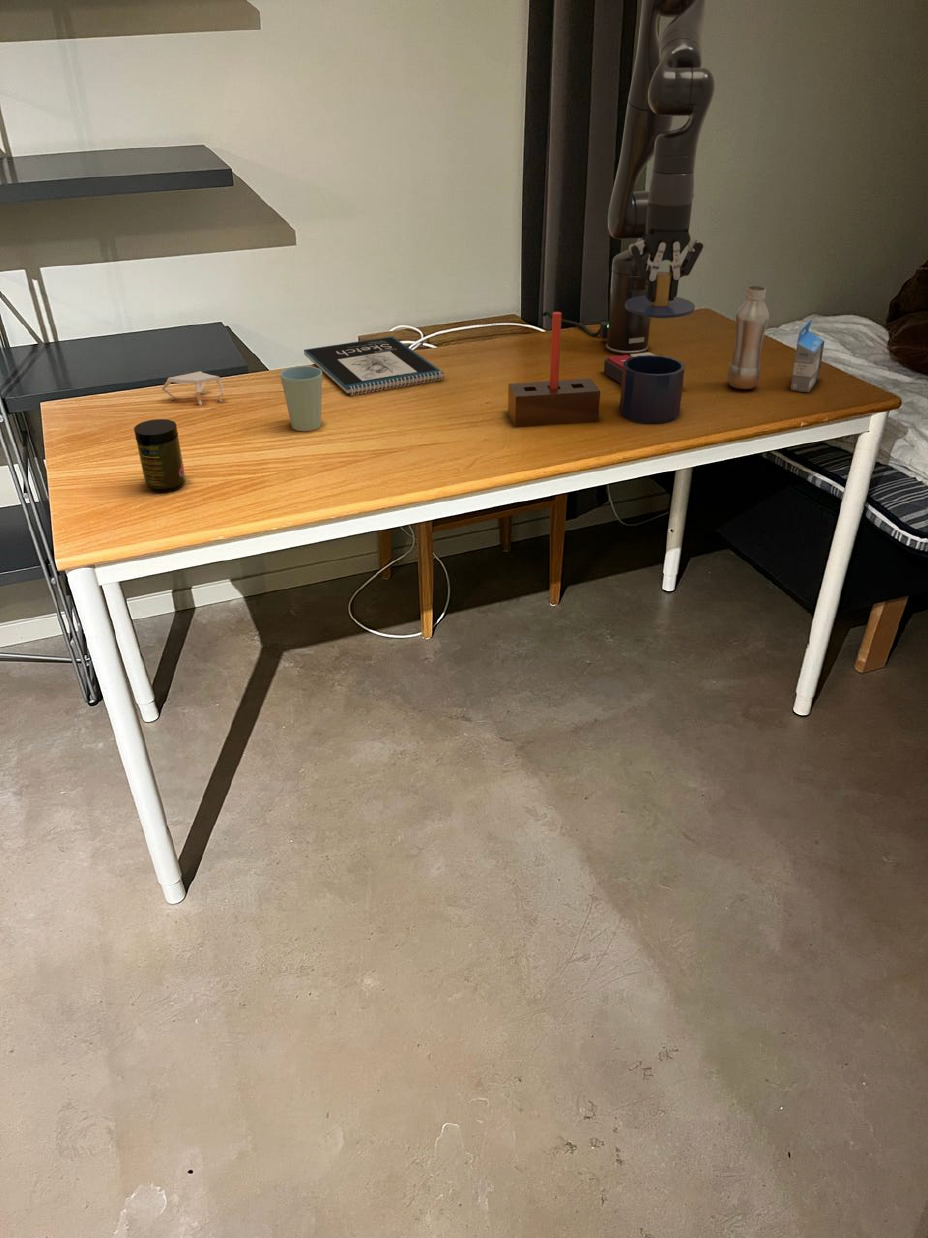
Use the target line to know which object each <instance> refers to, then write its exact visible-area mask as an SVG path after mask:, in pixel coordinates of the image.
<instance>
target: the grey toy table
mask: <svg viewBox="0 0 928 1238" xmlns="http://www.w3.org/2000/svg"><path fill="white" fill-rule="evenodd" d="M212 382H216V383H217V385H218V386H219V388H220V391H221V392H222V393H221V394H219V395H218V396H217V399H218V400H219V402H220V403H222V402H223V400H222V399H221V397H222V396H224V395H225V394H226V392H225V389H224V386H223V383H222V380H221V377H220V376H218V375H214V374H209V373H205V372H203V371H202V370H200V371H195V372H190V373H185V374H181V375H176V376H170V377H168V378H167V380H166V382H165V383H164V384H163V386H162V387H161V390H162V391H163V392H164V393H166V394H167V395H168V396H169V397H170V398H171V400H172V401H175V400H176V397H175V396H174V395H173V394H172V393H171V392H170V391H169V390H167V389H166V388H167V387H169V385H171V383H174V384H175V383H176V384H186V385H187V384H188V385H195V395H196V399H197V402H198V403H197V404H198V405H200V406H201V405H203V402H202V397H201V396H202V395H204V394H207V391H203V390H204V387H205V385H206V383H212ZM201 394H202V395H201Z"/></svg>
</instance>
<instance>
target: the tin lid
mask: <svg viewBox="0 0 928 1238" xmlns="http://www.w3.org/2000/svg"><path fill="white" fill-rule="evenodd" d="M655 281H657V282H656V292H655V301H654V302H650V301H649V300H648V299H647V298H646V297H645V296H638V297H634V298H631V299H629V300H627V301H626V302H625V308H626V310H628V311H629V312H631V313H634V314H637V315H641V316H646V317H651V318H652V319H653V318H654V319H672V318H681V317H685V316H689V315H691V314H693V313H694V312H695V309H696V305H695V304H694V302H692V301H690V300H688V299H687V298H683V297H680V296H676V297H674V300H673V301H669V293H670V283H671V273H669V271H658V272H657V275H656V279H655Z"/></svg>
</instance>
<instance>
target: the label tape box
mask: <svg viewBox="0 0 928 1238" xmlns="http://www.w3.org/2000/svg"><path fill="white" fill-rule="evenodd" d="M812 321H813V319H812V318H811V319H809V320H808V321H807V322H806V323H805V325H804V326H802V328H800V329H799V332H798V336H797V341H796V349H795V355H794V362H793V369H792V376H791V383H790V390H791V391H795V392H800V393H810V392H811V390H812V389H813V387H814V386H815V384H816V383H817V382H818V381H819V378H820V373H821V366H822V360H823V354H824V347H825V340H824V339H823V338H821V337H819V336H817V335H816V334H815V333H813V332H811V331H810V328H811V324H812Z"/></svg>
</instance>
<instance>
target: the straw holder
mask: <svg viewBox="0 0 928 1238" xmlns="http://www.w3.org/2000/svg"><path fill="white" fill-rule="evenodd" d="M507 385H508V387H507V388H508V389H507V391H508V392H507V414H508V416H509V418H510V420H511V422H512V424H513V426H514V427H515V428H519V427H531V426H532V427H533V426H547V425H548V426H549V425H563V424H576V423H577V424H578V423H591V422H599V415H600V400H601V390H600V389H599V387H598V386H597V384H596V383H595V382H594V381H593V380H592V378H577V379H561V380H560V379H559V380H558V389H554V390H550V380H548V381H547V380H546V381H531V382H530V381H529V382H528V381H527V382H514V383H513V382H512V383H508V384H507Z"/></svg>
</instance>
